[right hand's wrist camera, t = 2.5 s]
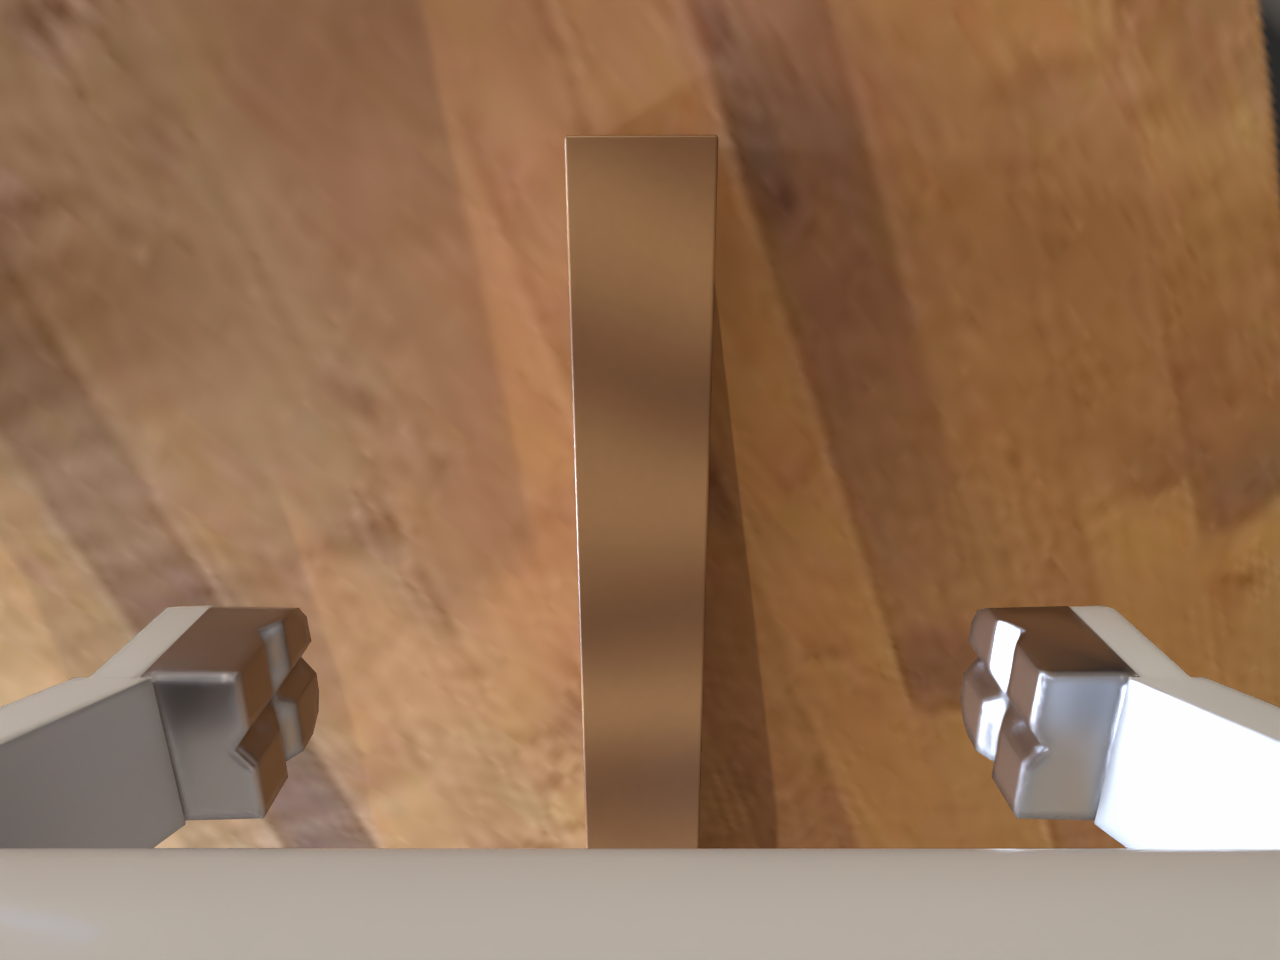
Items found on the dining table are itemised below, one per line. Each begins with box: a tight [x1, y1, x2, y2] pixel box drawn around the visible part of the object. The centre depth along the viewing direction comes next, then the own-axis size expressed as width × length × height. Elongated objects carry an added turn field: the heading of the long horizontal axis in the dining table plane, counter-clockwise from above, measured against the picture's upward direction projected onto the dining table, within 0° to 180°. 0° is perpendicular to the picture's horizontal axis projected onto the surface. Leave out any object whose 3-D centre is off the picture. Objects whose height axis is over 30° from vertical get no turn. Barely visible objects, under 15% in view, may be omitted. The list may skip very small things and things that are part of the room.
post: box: [564, 135, 718, 849], centre depth 41 cm, size 69×5×9 cm, turn 0°
